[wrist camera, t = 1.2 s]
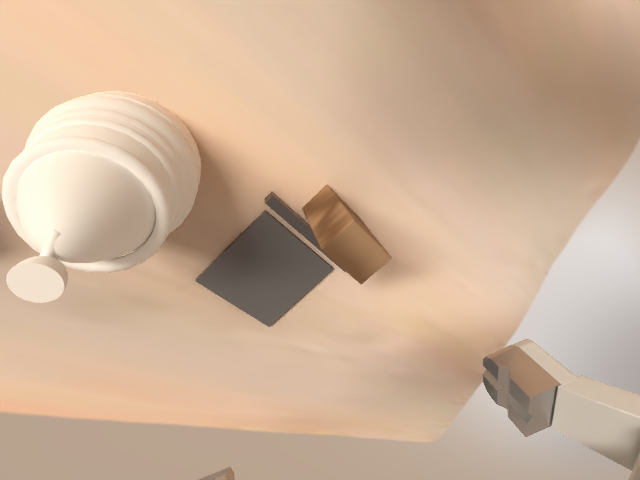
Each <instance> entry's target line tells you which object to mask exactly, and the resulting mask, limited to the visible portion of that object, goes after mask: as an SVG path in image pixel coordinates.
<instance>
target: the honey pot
mask: <svg viewBox="0 0 640 480" xmlns="http://www.w3.org/2000/svg"><path fill="white" fill-rule="evenodd" d="M200 179H201V158H200V154H199V151H198V147H197V144H196V142H195V140H194V138H193V137H192V135H191V133H190V131H189V130H188V128H187V127H186V126H185V125H184V124H183V122H182V121H181V120H180V119H179V118H178V117H177V116H176V115H175V114H174V113H173V112H171V111H170V110H168V109H167V108H165V107H164V106H163V105H161V104H160V103H158V102H157V101H154V100H152V99H149V98H147V97H144V96H142V95H139V94H136V93H129V92H122V91H108V92H99V93H93V94H89V95H86V96H82V97H78V98H75V99H72V100H70V101H67V102H65V103H62V104H60V105H58V106H55V107H53V108H52V109H51V110H50V111H49V112H48V113H47V114H45V115H44V116H43V117H42V118H41V119H40V120H39V121H38V122H37V123H36V124H35V126H34V128H33V130H32V132H31V134H30V136H29V138H28V140H27V142H26V147H25V149H24V151H23V152H22V153H20V154H19V155H18V156H17V157H16V158H15V159H14V160H13V161H12V162H11V164H10V166H9V168H8V170H7V172H6V174H5V176H4V178H3V187H2V200H3V204H4V208H5V212H6V216H7V217H8V219H9V221H10V222H11V224H12V226H13V227H14V229H15V231H16V232H17V234H18V235H19V236H20V237H21V238H22V239H23V240H24V241H25V242H26V243H27V244H28V245H29V246H30V247H31V248H32V249H34V250H35V251H37V252H38V253H40V255H39V256H36V257H32V258H28V259H26V260H24V261H22V262H20V263H18V264H17V265H15V266H14V267H13V268H12V269H11V270H10V271H9V272H8V274H7V277H6V282H7V285H8V287H9V289H10V290H11V291H12V292H13V293H14V294H15V295H17V296H18V297H20V298H22V299H24V300H27V301H31V302H38V303H43V302H49V301H53V300H55V299H57V298H58V297H59V296H60V295H61V294H62V293H63V291H64V289H65V287H66V284H67V280H68V273H67V269H66V267H68V268H72V269H77V270H82V271H87V272H115V271H120V270H125V269H129V268H132V267H134V266H136V265H138V264H141V263H143V262H145V261H146V260H147V259H149V258H150V257H151V256H152V255H154V254H155V253H156V252H157V251H158V250H159V248H160V247H161V246H162V244H163V243H164V241H165V240H166V238H167V235H168V234H170V233H171V232H172V231H173V230H174V229H176V228H177V227H178V226H179V225H181V224H182V223H183V221H184V220H185V218H186V217H187V216H188V214H189V213H190V211H191V210H192V208H193V205H194V201H195V198H196V195H197V191H198V187H199V183H200ZM131 251H134V252H132V253H129V252H131ZM126 253H129V254H127V255H125V256H122V257H119V256H121V255H124V254H126ZM65 266H66V267H65Z"/></svg>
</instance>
